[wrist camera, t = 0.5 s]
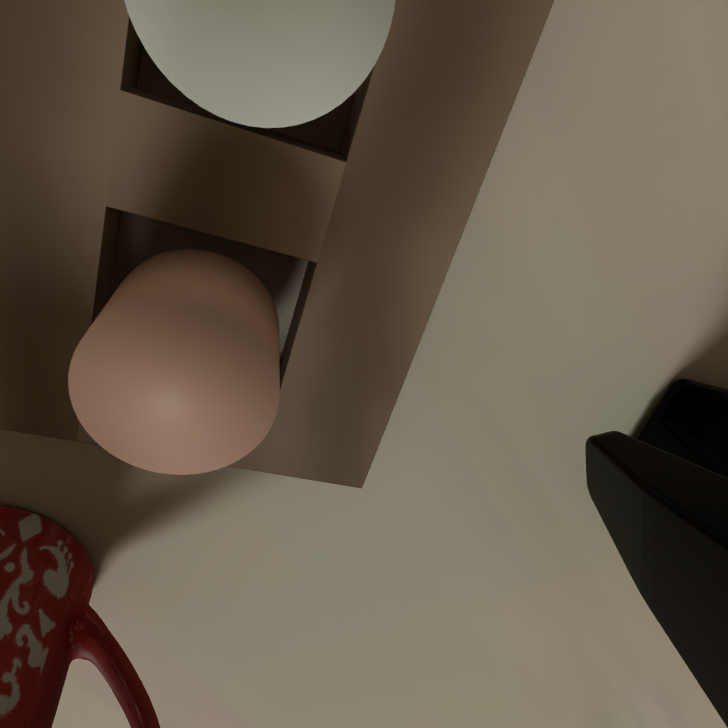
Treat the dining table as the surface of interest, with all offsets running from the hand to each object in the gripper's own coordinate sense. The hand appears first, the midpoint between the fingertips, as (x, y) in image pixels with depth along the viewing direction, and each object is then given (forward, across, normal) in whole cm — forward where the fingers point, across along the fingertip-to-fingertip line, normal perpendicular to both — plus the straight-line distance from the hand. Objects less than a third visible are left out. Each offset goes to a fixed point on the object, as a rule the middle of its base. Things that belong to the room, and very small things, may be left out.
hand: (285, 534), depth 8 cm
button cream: (+10, -1, -7) cm, 13 cm away
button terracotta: (+10, +3, 0) cm, 11 cm away
